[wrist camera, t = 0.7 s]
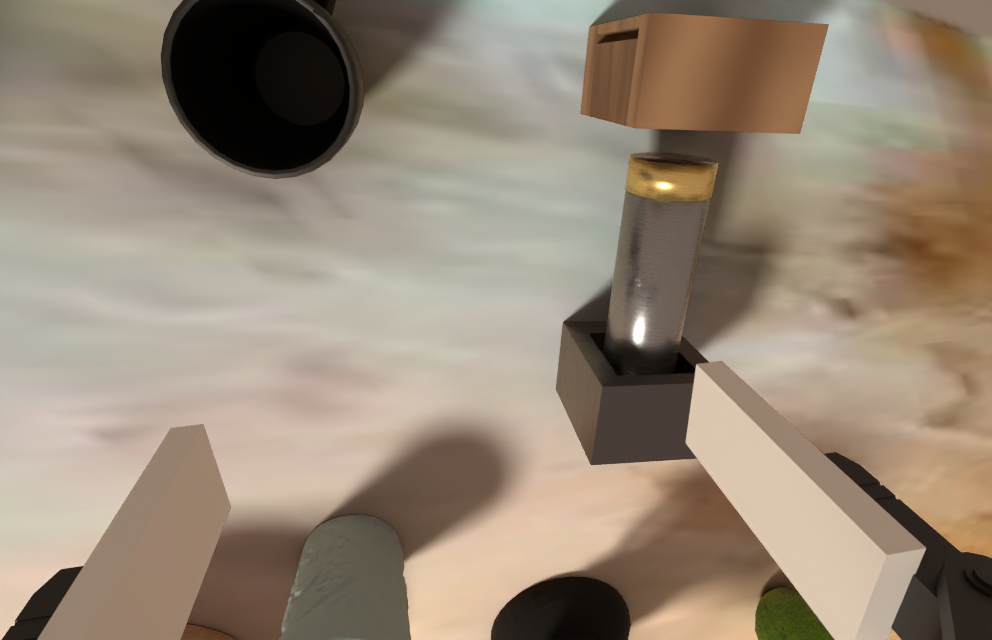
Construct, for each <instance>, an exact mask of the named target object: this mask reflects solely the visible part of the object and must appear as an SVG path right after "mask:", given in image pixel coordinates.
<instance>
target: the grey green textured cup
mask: <svg viewBox="0 0 992 640" xmlns="http://www.w3.org/2000/svg"><path fill="white" fill-rule="evenodd" d="M403 571H404V560H403V550H402V544H401V540H400V538H399V536H398V534H397V532H396V531H395V530H394V529H393V528H392V527H391V526H390V525H389V524H388V523H386V522H385V521H383V520H381V519H378V518H375V517H372V516H366V515H365V514H360V515H356V514H353V515H345V516H341V517H336V518H333V519H331V520H328V521H326V522H325V523H322V524H321V525H319V526H318V527H316V528H315V529H314V530H313V531H312V533H311V534H310V535H309V537H308V538H307V540H306V542H305V544H304V547H303V551H302V554H301V558H300V562H299V565H298V570H297V574H296V577H295V580H294V583H293V586H292V590H291V596H290V597H289V600H288V605H287V608H286V611H285V615H284V619H283V622H282V625H281V630H282V635H281V636H280V638H279V639H278V640H411V636H410V630H409V629H410V625H409V617H408V599H407V588H406V583H405V578H404V577H403Z"/></svg>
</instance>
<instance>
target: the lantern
mask: <svg viewBox="0 0 992 640" xmlns="http://www.w3.org/2000/svg"><path fill="white" fill-rule="evenodd" d="M630 625H631V624H630V615H629V610H628V607H627V605H626V603H625V601H624V599H623V598H622V596H621V595H620V594H619V593H618V592H617V590H616V589H614V588H613V587H611V586H610V585H608V584H606V583H604V582H601V581H599V580H596V579H591V578H586V577H567V578H558V579H554V580H550V581H546V582H543V583H540V584H538V585H535V586H533V587H530V588H529V589H527V590H525V591H523V592H522V593H520V594H518V595H517V596H516V597H514V598H513V599H512V600H511V601H509V602H508V603H507V604H506V605H505V607H504V608H503V609H502V610H501V611H500V612H499V614H498V616H497V617H496V619H495V621H494V624H493V627H492V630H491V640H628V636H629V631H630Z"/></svg>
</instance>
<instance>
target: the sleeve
mask: <svg viewBox="0 0 992 640" xmlns="http://www.w3.org/2000/svg"><path fill="white" fill-rule="evenodd" d="M606 326H607V321H603V322H563V327H562V337H561V346H560V356H559V365H558V375H557V384H556V390H557V393H558V395H559V397H560V399H561V401H562V403H563V406H564V408H565V410H566V412H567V414H568V416H569V419H570V421H571V423H572V425H573V427H574V429H575V432H576V434H577V436H578V438H579V440H580V442H581V445H582V447H583V449H584V451H585V453H586V456H587V458H588V460H589V462H590V464H591V465H601V464H617V463H633V462H648V461H664V460H680V459H695V458H696V456H695V455H694V454H693V452H692V451H691V450H690V448H689V447H688V446H687V444H686V443H685V442H686V435H687V428H688V421H689V414H690V406H691V399H692V392H693V385H694V377H695V370H696V364H701V363H709V362H708V361H707V360H706V359H705V358H704V357H703V356H702V355H701V354H700V353H699V352H698V351H697V350H696V349H695V348H694V347H693V346H692V345H691V344H690V343H689V342H688V341H687V340H686V339H685V338H684V337H683V336H682V337H681V342H680V347H679V352H678V357H677V361H676V366H675V371H674V374H661V375H635V376H617V375H616V373H615V372H614V370H613V369H612V367H611V366H610V365H609V363H608V362H607V360H606V359H605V357H604V356H603V347H604V340H605V333H606Z"/></svg>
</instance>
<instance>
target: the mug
mask: <svg viewBox="0 0 992 640" xmlns="http://www.w3.org/2000/svg"><path fill="white" fill-rule="evenodd" d="M335 1H336V0H183V1H182V2H181V3H180V5H179V6H178V7H177V8H176V10H175V11H174V12H173V14H172V17H171V19H170V21H169V23H168V26H167V28H166V30H165V33H164V38H163V45H162V51H161V65H162V77H163V82H164V85H165V89H166V92H167V95H168V99H169V102H170V104H171V106H172V108H173V110H174V111H175V113H176V115H177V117H178V119H179V121H180V123H181V124H182V125H183V127H184V128H185V129H186V130H187V132H188V133H189V134H190V135H191V137H192V138H193V139H194V140H195V142H196V143H198V144H199V145H200V146H201V147H202V148H203V149H205V150H206V151H207V152H208V153H209V154H210V155H212V156H213V157H214V158H216V159H217V160H219V161H221V162H223V163H224V164H226V165H228V166H230V167H231V168H233V169H235V170H238V171H241V172H244V173H247V174H250V175H253V176H258V177H266V178H274V179H278V178H289V177H297V176H300V175H303V174H306V173H309V172H312V171H314V170H316V169H317V168H319V167H321V166H322V165H324V164H325V163H327V162H328V161H330V160H331V159H332V158H333V157H334V156H335V155H336V154H337V153H338V152H339V150H340V149H341V148H342V147H343V146H344V145H345V144H346V143H347V141H348V140H349V138H350V137H351V135H352V133H353V131H354V130H355V128H356V126H357V124H358V122H359V118H360V115H361V111H362V108H363V98H364V82H363V75H362V69H361V65H360V62H359V59H358V57H357V54H356V51H355V48H354V46H353V44H352V43H351V41H350V39H349V38H348V36H347V34H346V33H345V31H344V30H343V28H342V27H341V26H340V25H339V23H338V22H337V21H336V20H335V19H334V18H333V17H332V14H333V10H334V6H335Z"/></svg>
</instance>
